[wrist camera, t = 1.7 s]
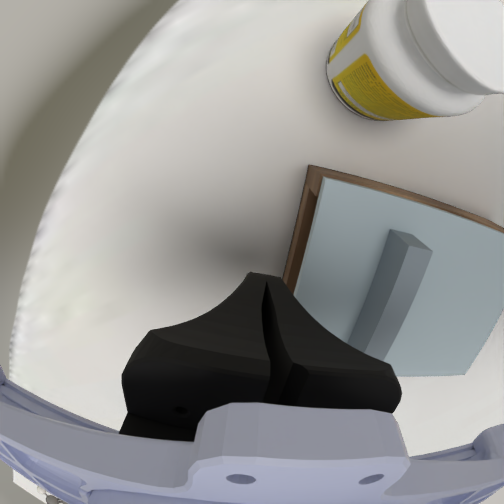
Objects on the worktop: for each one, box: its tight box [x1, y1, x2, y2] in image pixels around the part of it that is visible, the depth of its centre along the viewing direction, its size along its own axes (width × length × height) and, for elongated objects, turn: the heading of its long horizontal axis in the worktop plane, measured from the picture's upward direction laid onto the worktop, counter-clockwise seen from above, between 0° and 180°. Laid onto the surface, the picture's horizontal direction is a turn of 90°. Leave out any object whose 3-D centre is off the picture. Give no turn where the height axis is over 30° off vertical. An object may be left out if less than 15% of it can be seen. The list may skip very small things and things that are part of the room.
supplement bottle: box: [327, 0, 504, 121], centre depth 8 cm, size 5×5×10 cm
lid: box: [294, 176, 504, 377], centre depth 12 cm, size 14×10×3 cm
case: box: [282, 165, 504, 295], centre depth 15 cm, size 14×10×4 cm
